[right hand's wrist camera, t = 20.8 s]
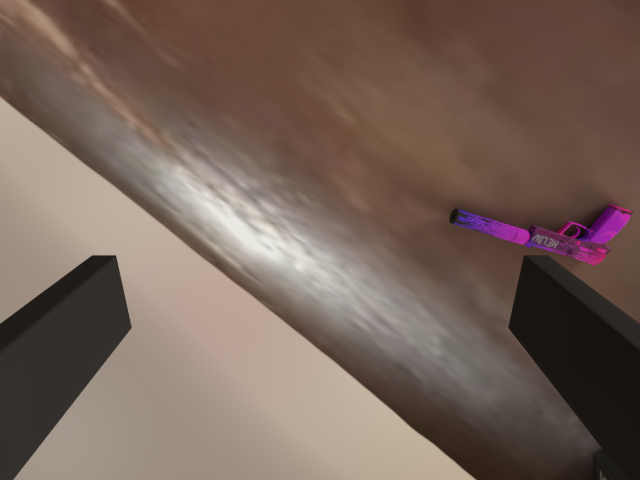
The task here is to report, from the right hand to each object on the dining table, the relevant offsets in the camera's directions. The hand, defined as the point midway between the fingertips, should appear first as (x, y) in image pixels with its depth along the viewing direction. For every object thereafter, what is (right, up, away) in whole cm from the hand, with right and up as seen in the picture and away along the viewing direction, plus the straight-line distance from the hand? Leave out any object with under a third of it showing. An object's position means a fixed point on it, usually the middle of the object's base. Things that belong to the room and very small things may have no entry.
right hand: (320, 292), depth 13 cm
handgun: (+28, +4, +35) cm, 45 cm away
